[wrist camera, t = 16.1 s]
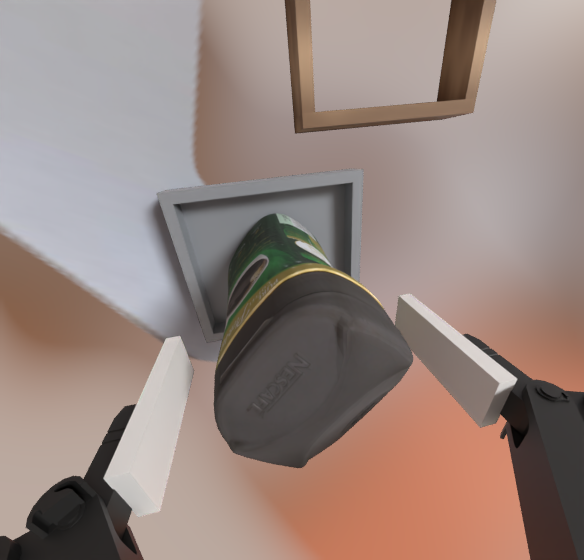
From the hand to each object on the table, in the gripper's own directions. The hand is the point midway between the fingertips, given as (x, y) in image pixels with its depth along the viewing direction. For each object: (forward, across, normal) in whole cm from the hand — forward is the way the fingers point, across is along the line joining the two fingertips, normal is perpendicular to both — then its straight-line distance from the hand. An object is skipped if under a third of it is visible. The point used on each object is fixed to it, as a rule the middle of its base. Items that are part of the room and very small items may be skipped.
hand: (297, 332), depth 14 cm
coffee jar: (+13, 0, 0) cm, 13 cm away
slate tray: (+14, 0, 0) cm, 14 cm away
